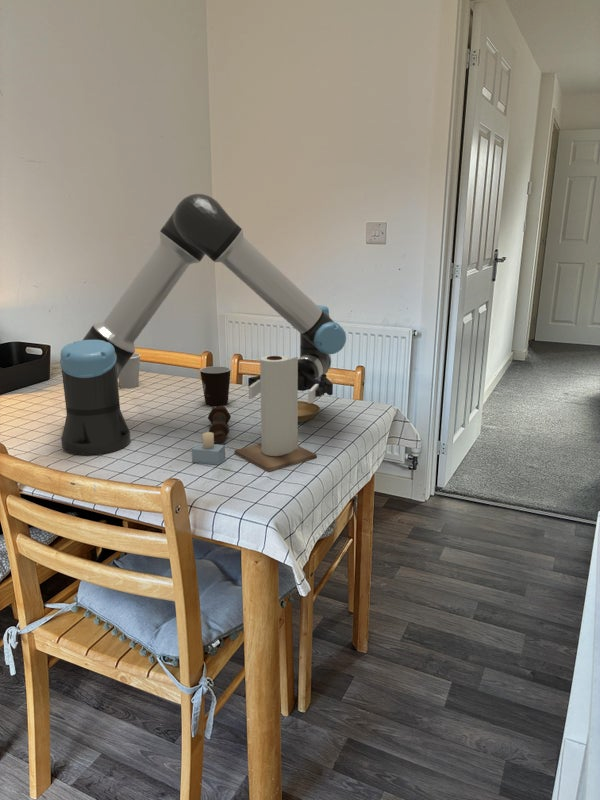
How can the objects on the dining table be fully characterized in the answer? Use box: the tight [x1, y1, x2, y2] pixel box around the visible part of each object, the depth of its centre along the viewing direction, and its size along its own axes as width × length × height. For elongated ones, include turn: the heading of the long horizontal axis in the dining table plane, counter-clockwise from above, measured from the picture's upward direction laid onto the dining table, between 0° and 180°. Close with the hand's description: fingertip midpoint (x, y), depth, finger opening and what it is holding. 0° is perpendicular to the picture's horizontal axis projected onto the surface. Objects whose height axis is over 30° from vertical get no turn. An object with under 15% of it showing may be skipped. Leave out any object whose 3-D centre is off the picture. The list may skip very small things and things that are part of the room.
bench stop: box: [191, 431, 226, 466], centre depth 126 cm, size 4×6×6 cm, turn 75°
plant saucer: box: [298, 400, 321, 423], centre depth 157 cm, size 15×15×3 cm
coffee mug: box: [199, 365, 232, 408], centre depth 169 cm, size 12×9×10 cm
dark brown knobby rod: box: [207, 406, 232, 444], centre depth 143 cm, size 6×5×15 cm
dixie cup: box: [118, 352, 141, 389], centre depth 186 cm, size 8×8×10 cm
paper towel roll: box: [259, 355, 299, 456], centre depth 126 cm, size 7×6×21 cm
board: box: [234, 443, 318, 473], centre depth 130 cm, size 13×13×1 cm
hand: (279, 395), depth 128 cm, fingers open, 13 cm apart
